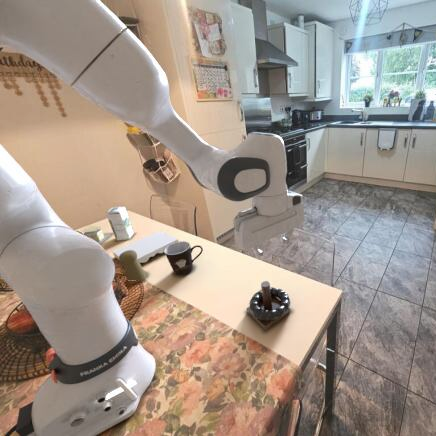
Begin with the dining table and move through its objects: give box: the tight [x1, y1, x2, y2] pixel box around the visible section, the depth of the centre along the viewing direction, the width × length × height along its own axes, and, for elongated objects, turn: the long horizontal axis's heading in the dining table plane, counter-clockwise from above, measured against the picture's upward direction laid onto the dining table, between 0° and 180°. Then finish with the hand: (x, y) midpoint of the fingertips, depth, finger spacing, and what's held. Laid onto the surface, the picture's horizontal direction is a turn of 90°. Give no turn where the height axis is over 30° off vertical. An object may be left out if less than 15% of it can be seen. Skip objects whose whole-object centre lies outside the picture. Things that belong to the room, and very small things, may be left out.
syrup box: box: [105, 206, 135, 241], centre depth 112 cm, size 6×6×14 cm
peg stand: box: [246, 280, 291, 331], centre depth 69 cm, size 9×9×10 cm
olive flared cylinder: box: [118, 250, 147, 285], centre depth 85 cm, size 6×6×11 cm
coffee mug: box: [163, 240, 204, 277], centre depth 88 cm, size 12×9×10 cm
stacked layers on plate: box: [81, 225, 112, 245], centre depth 113 cm, size 10×9×6 cm
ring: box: [248, 286, 291, 321], centre depth 70 cm, size 12×12×3 cm
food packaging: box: [112, 230, 179, 264], centre depth 102 cm, size 15×3×20 cm
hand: (273, 250), depth 65 cm, fingers open, 8 cm apart
